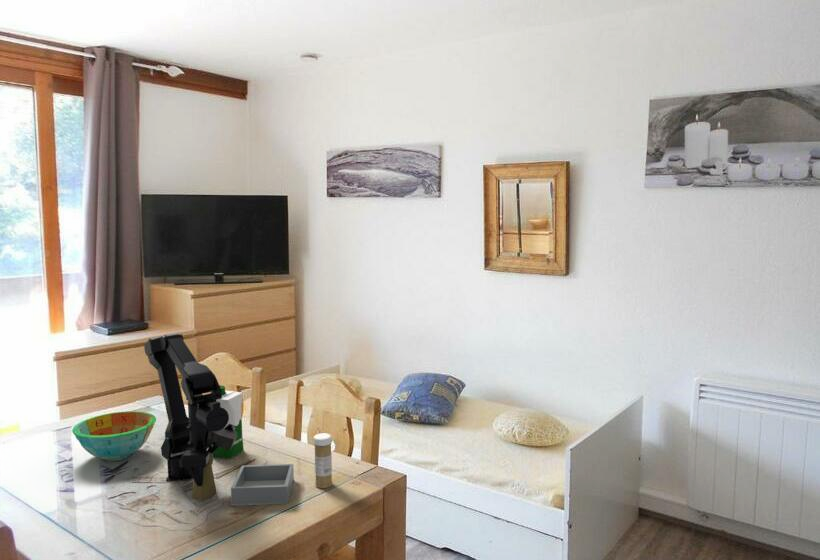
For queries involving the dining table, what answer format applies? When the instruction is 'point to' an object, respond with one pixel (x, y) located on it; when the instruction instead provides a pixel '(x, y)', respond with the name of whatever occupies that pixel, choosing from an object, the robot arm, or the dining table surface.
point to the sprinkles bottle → (323, 460)
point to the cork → (205, 484)
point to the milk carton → (231, 421)
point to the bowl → (114, 434)
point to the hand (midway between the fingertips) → (203, 479)
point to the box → (262, 485)
